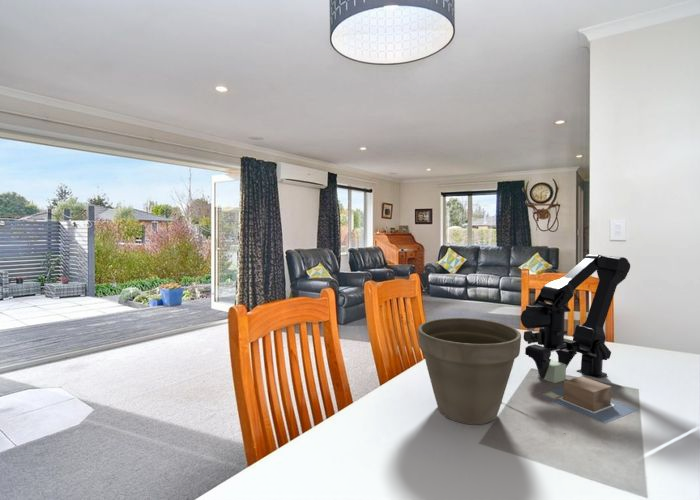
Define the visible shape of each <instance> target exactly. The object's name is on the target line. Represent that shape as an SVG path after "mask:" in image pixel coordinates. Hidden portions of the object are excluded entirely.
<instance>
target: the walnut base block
mask: <svg viewBox="0 0 700 500" xmlns="http://www.w3.org/2000/svg"><path fill="white" fill-rule="evenodd" d="M563 387H564V391H563V399H564V400H566V401H569V402H571V403H573V404H576V405H578V406H581V407H583V408H586V409H588V410H591V411H595V410H598V409H601V408H603V407H606V406H609V405H611V400H612V386H611V385H608V384H605V383H603V382H600V381H596V380H593V379H591V378H588V377H584V376H577V377H574V378H571V379H567V380H564V381H563Z"/></svg>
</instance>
